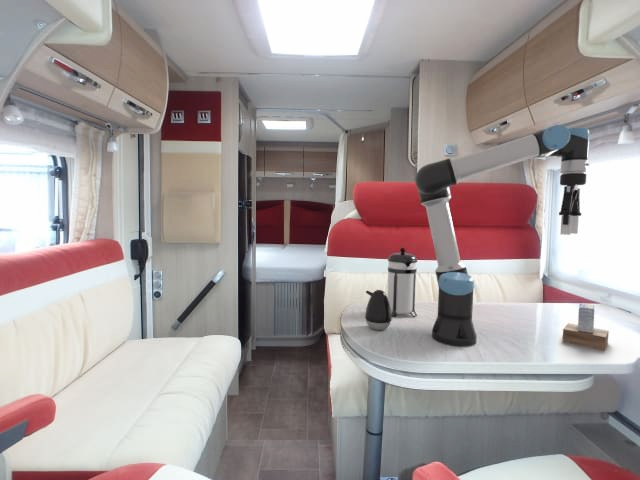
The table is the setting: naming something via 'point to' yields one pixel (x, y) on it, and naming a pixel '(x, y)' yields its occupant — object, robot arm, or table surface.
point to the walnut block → (585, 337)
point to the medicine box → (586, 318)
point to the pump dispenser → (378, 310)
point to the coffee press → (402, 283)
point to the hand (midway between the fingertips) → (569, 234)
